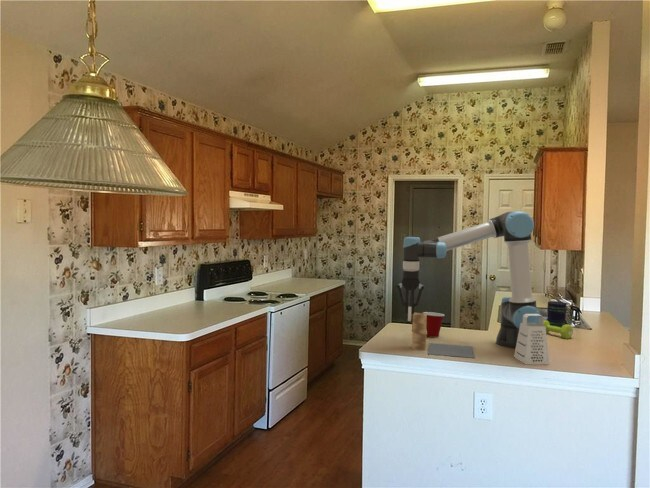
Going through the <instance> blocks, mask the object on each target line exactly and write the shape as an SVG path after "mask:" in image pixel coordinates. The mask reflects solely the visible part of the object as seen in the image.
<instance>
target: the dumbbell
mask: <svg viewBox="0 0 650 488" xmlns="http://www.w3.org/2000/svg"><path fill="white" fill-rule="evenodd" d="M543 326H546V335H547V334H548V333H549V332H553V333H555V334H560V336H561V338H562V339H565V340H569V339H571V338H572V337H573V330H574V329H573V326H572V325H571V324H567V323H566V325H563V326H562V328H560V327H556V326H550V323H549V321H547V319H544V320H543Z"/></svg>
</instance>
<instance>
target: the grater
mask: <svg viewBox="0 0 650 488" xmlns="http://www.w3.org/2000/svg"><path fill="white" fill-rule="evenodd" d="M529 315H530V316H539V324H538V323H527V317H528V316H529ZM543 320H545V319H544V317H543V315H542V314H540V315H539V314H524V315H523V323H520V328H519V333H518V338H517V344H516V348H514V349H515V350H514V355H513V358H514V357H515V358H514V359H517V360H518V361H519V360H520V362H521V363H523V364H524V363H525V364H524V365H550V359H549V358H550V357H549V356H550V355H549V348H548V347H549V346H548V337H547V334H546V326H543Z"/></svg>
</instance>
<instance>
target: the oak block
mask: <svg viewBox="0 0 650 488" xmlns="http://www.w3.org/2000/svg"><path fill="white" fill-rule="evenodd" d="M426 321H427V313H423V312H414V314H412V319H411V332H412V337H411V339H412V340H411V341H412V343H411V350H416V351H417V350H418V351H426V349H427V348H426V347H427V331H426Z"/></svg>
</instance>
